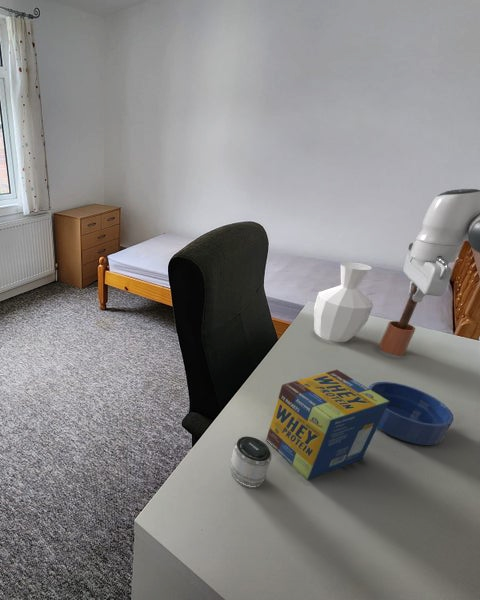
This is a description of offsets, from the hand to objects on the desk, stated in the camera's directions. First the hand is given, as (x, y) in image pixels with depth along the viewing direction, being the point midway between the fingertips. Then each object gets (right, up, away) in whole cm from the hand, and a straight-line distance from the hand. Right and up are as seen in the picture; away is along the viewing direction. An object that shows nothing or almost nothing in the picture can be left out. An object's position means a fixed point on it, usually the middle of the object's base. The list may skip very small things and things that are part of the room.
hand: (414, 298), depth 97 cm
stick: (0, -15, +7) cm, 17 cm away
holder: (0, -16, +8) cm, 18 cm away
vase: (-12, -13, +16) cm, 24 cm away
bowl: (-22, -29, -19) cm, 41 cm away
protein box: (-46, -32, -25) cm, 62 cm away
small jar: (-63, -35, -30) cm, 78 cm away
